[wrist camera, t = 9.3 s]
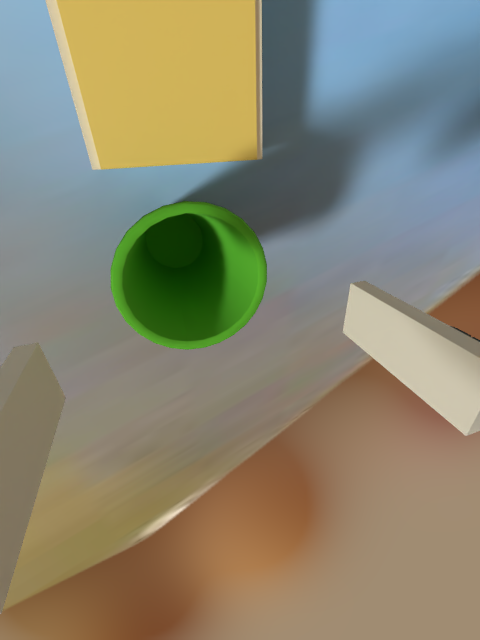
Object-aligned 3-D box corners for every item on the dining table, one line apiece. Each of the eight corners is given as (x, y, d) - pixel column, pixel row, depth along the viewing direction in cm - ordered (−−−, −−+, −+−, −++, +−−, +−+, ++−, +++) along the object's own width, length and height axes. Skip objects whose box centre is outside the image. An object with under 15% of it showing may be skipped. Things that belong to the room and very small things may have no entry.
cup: (230, 194, 25) (284, 216, 16) (215, 289, 29) (251, 350, 20) (120, 173, 22) (109, 185, 13) (120, 283, 26) (111, 352, 17)
